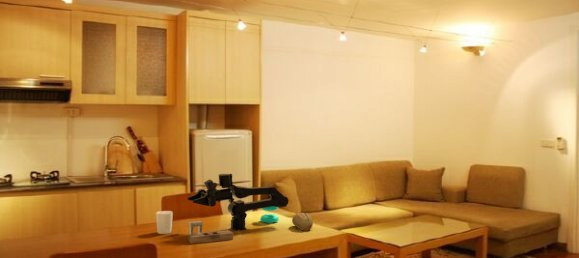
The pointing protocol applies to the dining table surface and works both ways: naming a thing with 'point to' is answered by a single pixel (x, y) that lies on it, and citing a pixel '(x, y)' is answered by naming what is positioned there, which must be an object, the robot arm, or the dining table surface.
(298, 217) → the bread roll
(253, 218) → the dining table surface
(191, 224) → the grey arch block
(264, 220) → the donuts
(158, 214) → the white cup
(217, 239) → the rail
